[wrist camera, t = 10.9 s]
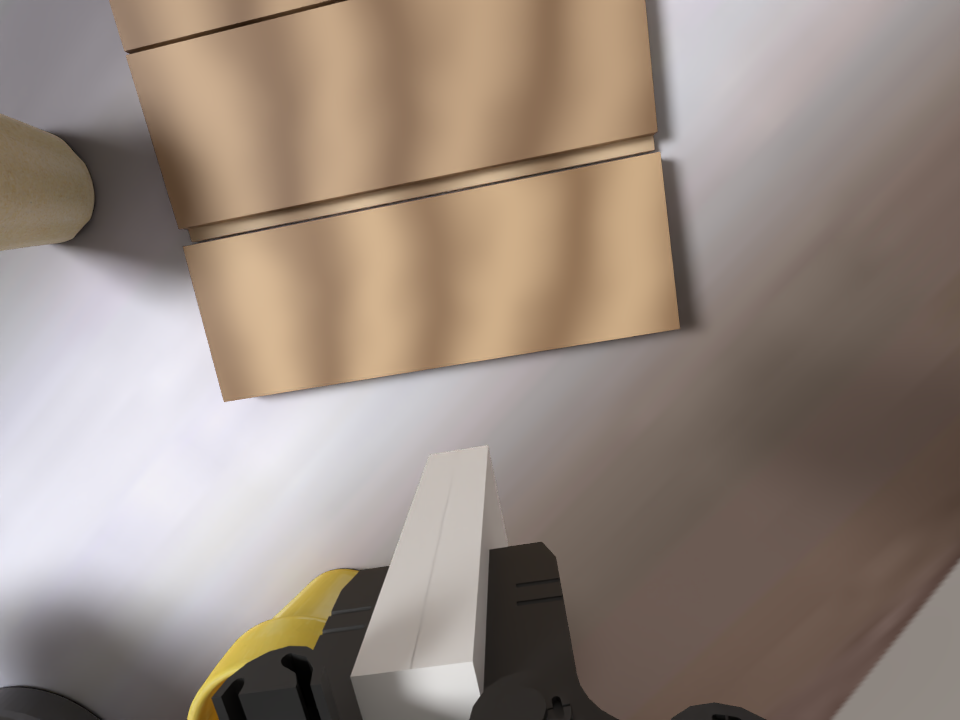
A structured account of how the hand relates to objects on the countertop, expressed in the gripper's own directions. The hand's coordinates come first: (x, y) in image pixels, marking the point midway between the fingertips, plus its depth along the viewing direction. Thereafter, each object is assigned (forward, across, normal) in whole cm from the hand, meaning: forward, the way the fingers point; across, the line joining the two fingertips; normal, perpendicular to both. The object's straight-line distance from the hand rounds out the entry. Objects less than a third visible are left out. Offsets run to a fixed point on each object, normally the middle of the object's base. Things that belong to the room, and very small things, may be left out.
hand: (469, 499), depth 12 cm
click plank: (+17, +3, -5) cm, 17 cm away
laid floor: (+17, +2, -19) cm, 26 cm away
